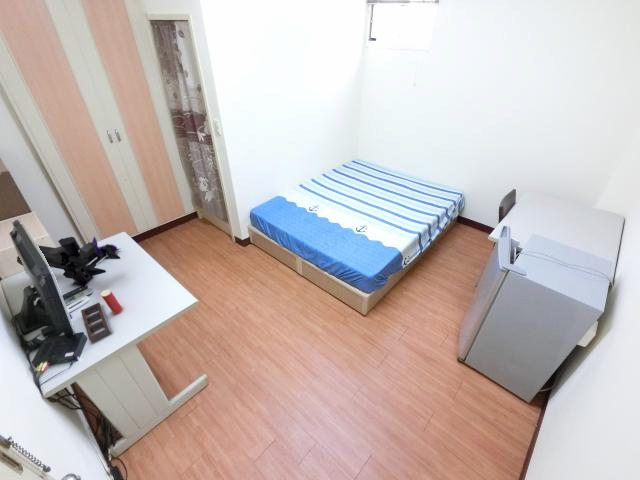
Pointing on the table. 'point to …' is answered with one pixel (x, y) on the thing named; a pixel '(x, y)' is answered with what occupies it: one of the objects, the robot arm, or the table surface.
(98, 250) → the creature
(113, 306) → the red cylinder
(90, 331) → the brown wooden rack
